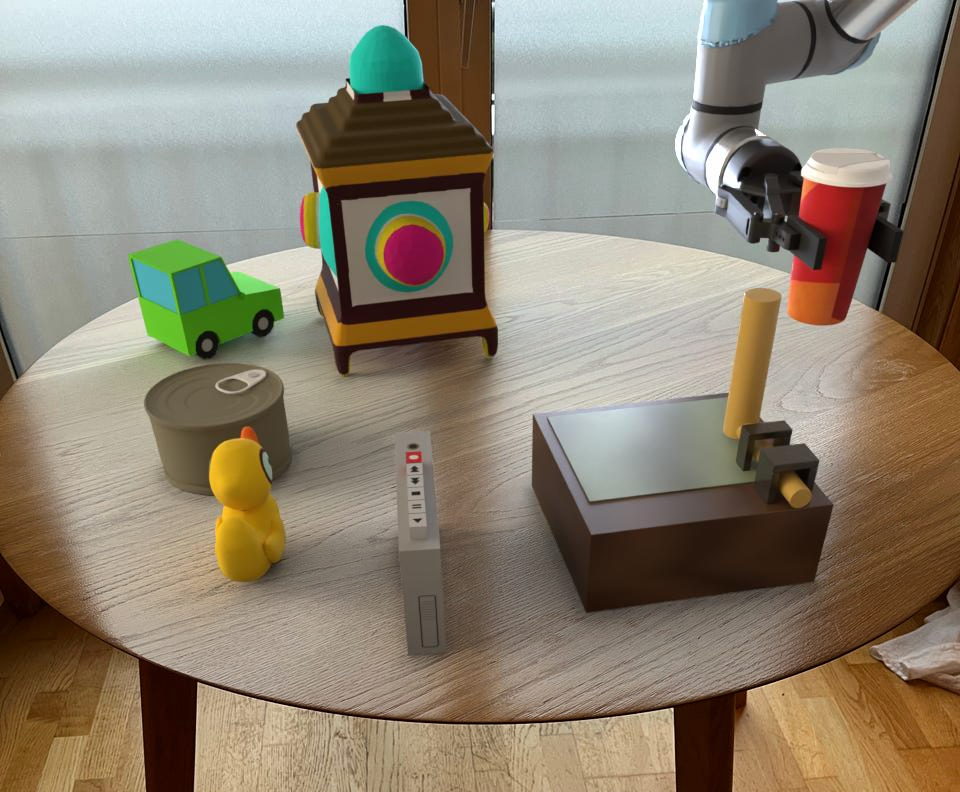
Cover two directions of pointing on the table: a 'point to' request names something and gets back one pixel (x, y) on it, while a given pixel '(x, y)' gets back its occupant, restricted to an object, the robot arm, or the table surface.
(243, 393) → the can
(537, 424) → the chest
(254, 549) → the duckling
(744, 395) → the bolt
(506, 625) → the table surface
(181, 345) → the toy car
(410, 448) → the cassette player
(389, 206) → the decorative lantern
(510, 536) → the table surface
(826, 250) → the paper cup
